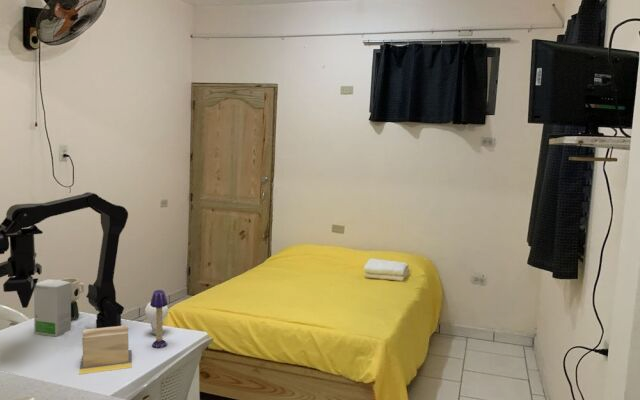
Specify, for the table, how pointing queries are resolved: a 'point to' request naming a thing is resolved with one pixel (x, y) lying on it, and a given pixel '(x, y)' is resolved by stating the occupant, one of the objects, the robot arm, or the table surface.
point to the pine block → (105, 346)
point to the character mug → (74, 295)
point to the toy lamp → (159, 316)
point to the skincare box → (52, 307)
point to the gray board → (106, 366)
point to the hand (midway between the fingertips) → (25, 307)
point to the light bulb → (154, 316)
